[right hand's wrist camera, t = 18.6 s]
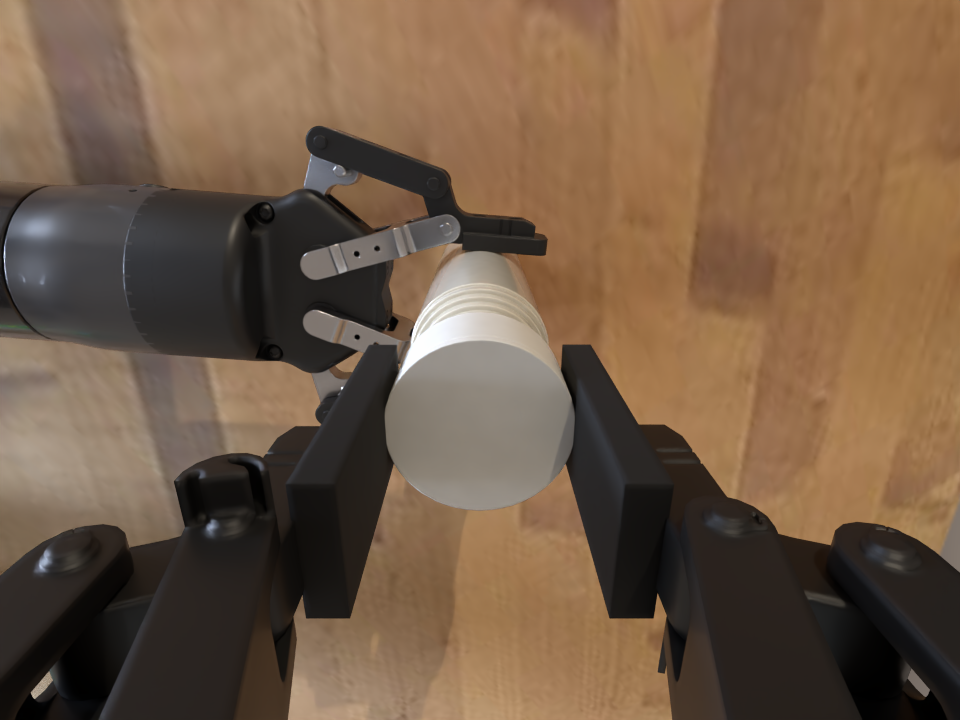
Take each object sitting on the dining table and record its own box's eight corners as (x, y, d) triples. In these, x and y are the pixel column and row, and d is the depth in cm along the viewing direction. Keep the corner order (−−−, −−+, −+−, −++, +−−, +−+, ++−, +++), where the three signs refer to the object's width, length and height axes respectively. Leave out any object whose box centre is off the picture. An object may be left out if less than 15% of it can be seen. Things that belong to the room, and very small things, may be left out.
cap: (576, 442, 15) (591, 489, 13) (424, 476, 16) (415, 527, 13) (543, 293, 14) (555, 318, 11) (375, 334, 14) (356, 366, 12)
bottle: (451, 219, 30) (408, 307, 12) (529, 241, 30) (601, 358, 12) (432, 296, 31) (368, 475, 13) (506, 316, 32) (540, 515, 14)
